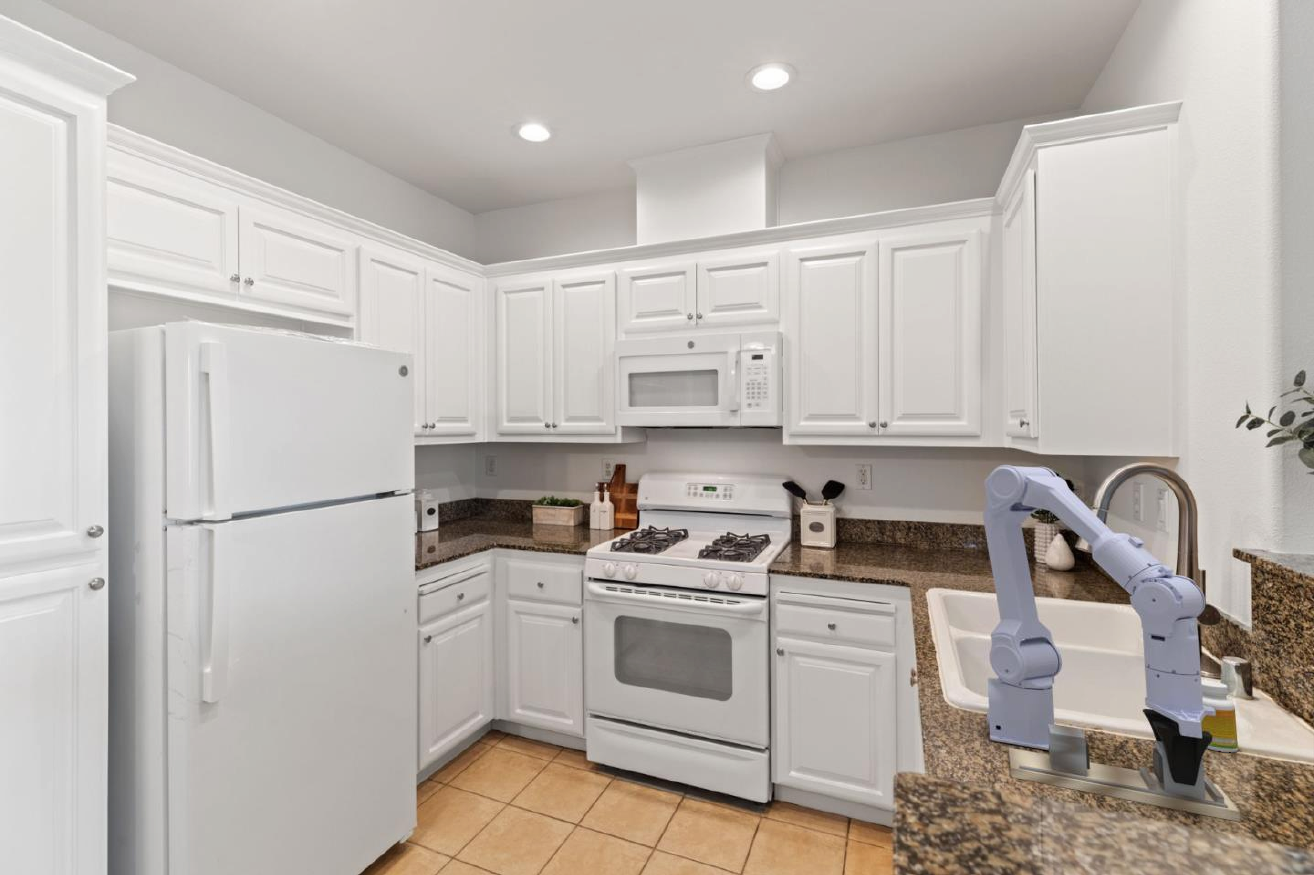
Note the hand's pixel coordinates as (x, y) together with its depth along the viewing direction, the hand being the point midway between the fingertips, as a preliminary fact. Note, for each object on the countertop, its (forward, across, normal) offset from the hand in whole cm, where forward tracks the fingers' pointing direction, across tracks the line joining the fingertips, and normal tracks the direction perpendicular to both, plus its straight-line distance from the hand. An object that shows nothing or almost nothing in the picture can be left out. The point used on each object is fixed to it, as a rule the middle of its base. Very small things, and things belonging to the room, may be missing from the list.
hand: (1179, 776), depth 80 cm
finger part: (+2, 0, 0) cm, 2 cm away
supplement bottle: (+3, +25, -10) cm, 27 cm away
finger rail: (+3, 0, +7) cm, 8 cm away
